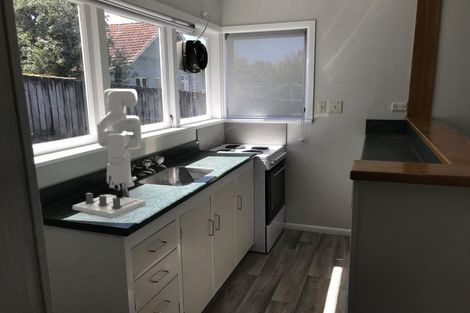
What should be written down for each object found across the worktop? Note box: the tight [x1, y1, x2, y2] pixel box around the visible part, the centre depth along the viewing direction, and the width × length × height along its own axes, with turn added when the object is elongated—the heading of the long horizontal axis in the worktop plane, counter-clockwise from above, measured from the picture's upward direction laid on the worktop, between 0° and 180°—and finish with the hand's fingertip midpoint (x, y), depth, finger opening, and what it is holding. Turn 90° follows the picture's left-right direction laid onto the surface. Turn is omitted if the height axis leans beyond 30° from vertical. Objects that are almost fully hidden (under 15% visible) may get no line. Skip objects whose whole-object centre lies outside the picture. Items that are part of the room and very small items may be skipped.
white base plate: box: [72, 194, 146, 218], centre depth 181 cm, size 22×26×2 cm
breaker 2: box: [98, 194, 109, 206], centre depth 177 cm, size 3×4×4 cm
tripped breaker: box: [111, 197, 122, 209], centre depth 173 cm, size 3×4×4 cm
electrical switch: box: [116, 184, 131, 198], centre depth 200 cm, size 9×5×9 cm, turn 32°
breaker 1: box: [84, 192, 95, 204], centre depth 181 cm, size 3×4×4 cm
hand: (119, 197), depth 175 cm, fingers closed
